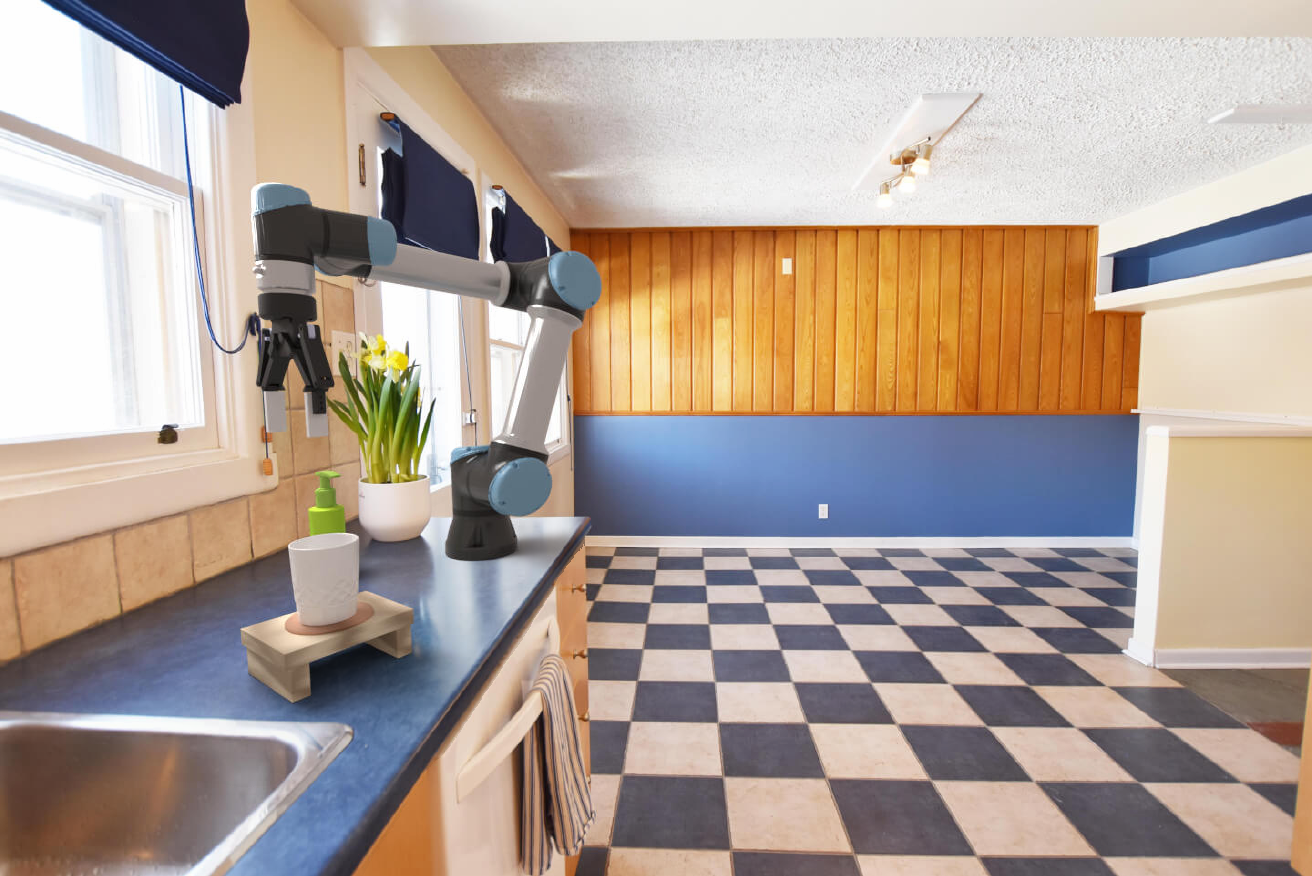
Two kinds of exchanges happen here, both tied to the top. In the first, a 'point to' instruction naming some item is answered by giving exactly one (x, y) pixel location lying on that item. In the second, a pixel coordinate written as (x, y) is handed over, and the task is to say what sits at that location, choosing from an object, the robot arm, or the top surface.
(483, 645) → the top surface
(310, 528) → the soap dispenser
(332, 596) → the white cup
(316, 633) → the birch shelf
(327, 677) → the top surface
